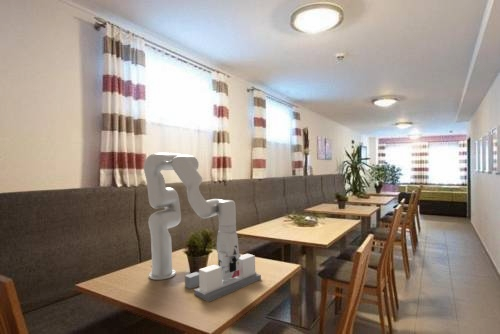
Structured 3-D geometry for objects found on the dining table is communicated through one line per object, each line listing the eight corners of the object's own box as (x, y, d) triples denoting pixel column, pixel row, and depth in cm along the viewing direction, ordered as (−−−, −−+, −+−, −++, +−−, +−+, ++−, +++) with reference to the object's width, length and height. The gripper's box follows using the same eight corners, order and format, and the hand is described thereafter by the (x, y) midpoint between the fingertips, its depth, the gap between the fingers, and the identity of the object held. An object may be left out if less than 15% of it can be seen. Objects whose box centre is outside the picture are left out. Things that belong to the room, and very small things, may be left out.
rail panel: (194, 294, 124) (193, 268, 124) (245, 274, 145) (245, 251, 145) (208, 301, 117) (208, 274, 117) (260, 279, 138) (260, 256, 138)
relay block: (185, 286, 133) (184, 275, 133) (196, 282, 137) (195, 271, 137) (190, 289, 130) (189, 277, 130) (201, 284, 134) (201, 273, 134)
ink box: (233, 273, 136) (232, 247, 136) (240, 276, 132) (239, 249, 132) (217, 278, 131) (216, 251, 130) (223, 281, 127) (223, 253, 126)
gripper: (208, 227, 134) (209, 267, 135) (234, 233, 122) (235, 277, 123) (221, 224, 140) (222, 263, 140) (247, 229, 128) (248, 272, 128)
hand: (228, 269), depth 131 cm, fingers closed on ink box, 5 cm apart
